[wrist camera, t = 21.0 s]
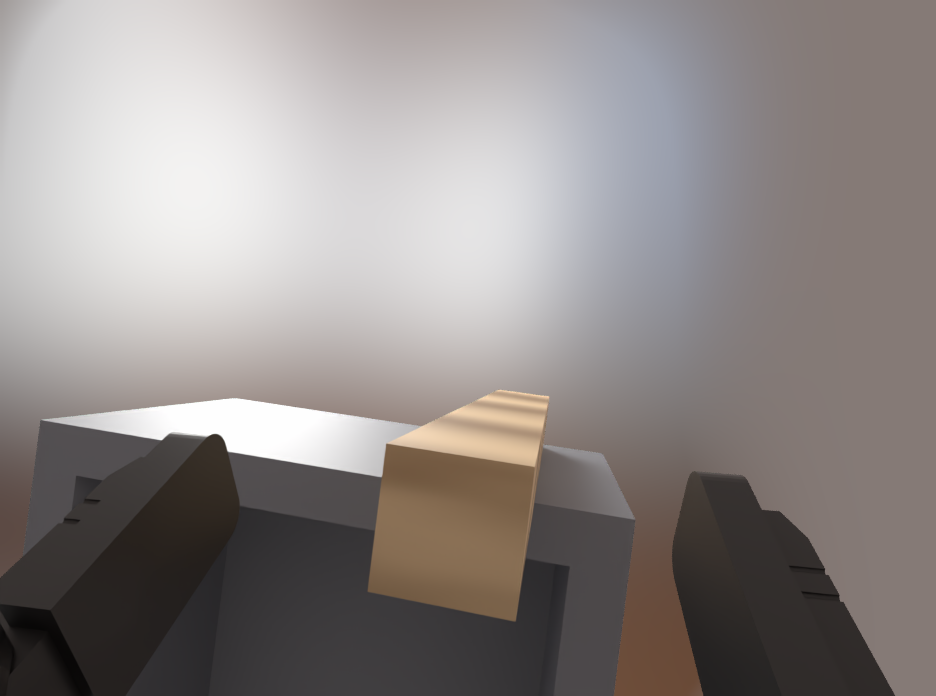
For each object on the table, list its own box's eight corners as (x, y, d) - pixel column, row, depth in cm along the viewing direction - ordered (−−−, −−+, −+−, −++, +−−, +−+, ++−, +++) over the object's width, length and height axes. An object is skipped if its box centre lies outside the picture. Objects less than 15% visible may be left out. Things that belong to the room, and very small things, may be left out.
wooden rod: (515, 621, 11) (534, 466, 11) (367, 591, 11) (386, 443, 11) (543, 447, 32) (549, 396, 32) (492, 439, 33) (498, 389, 33)
